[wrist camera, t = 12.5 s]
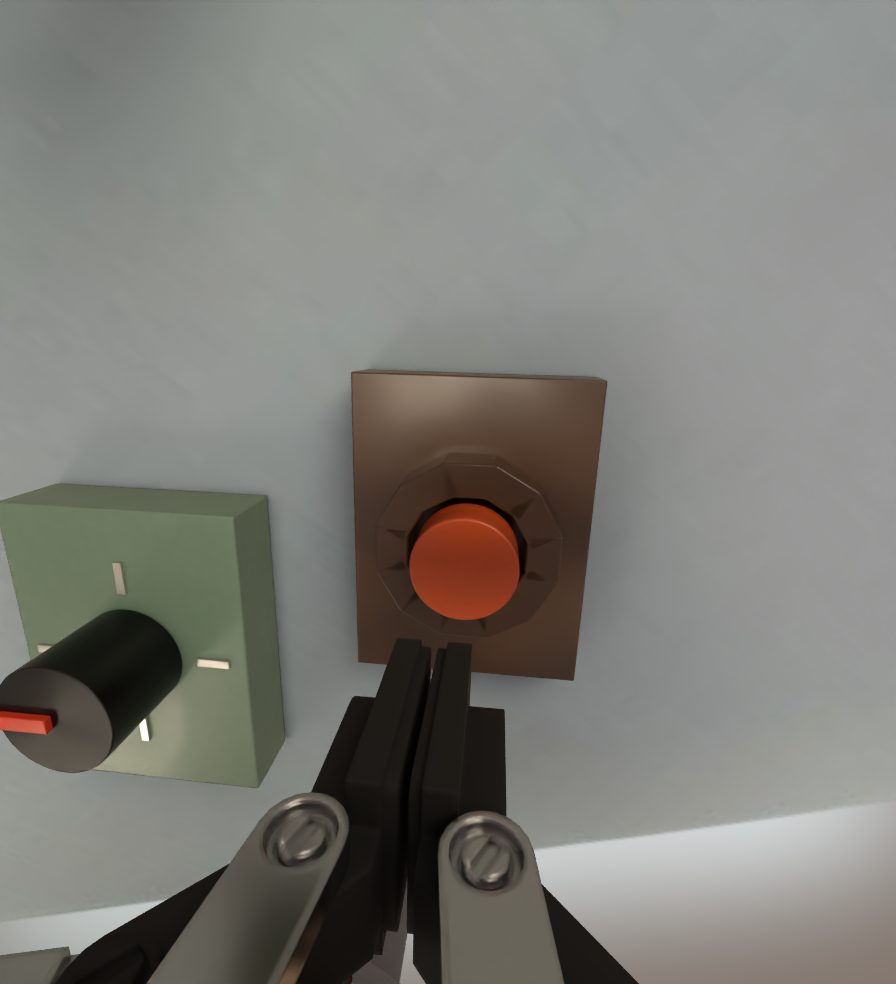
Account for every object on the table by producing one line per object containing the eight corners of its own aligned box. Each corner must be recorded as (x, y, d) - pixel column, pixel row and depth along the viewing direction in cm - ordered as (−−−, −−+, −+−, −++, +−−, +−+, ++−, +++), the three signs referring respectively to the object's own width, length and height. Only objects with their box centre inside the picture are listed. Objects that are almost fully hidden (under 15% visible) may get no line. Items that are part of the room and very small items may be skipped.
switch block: (567, 650, 23) (580, 711, 19) (370, 634, 24) (345, 690, 20) (596, 377, 19) (619, 384, 16) (366, 369, 20) (334, 374, 16)
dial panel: (285, 740, 26) (257, 792, 23) (102, 721, 27) (51, 769, 24) (267, 495, 22) (230, 518, 19) (56, 483, 23) (-11, 503, 20)
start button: (514, 600, 18) (515, 625, 17) (416, 592, 19) (408, 616, 17) (521, 505, 17) (523, 521, 16) (417, 499, 18) (408, 515, 16)
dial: (175, 612, 21) (95, 678, 17) (188, 704, 22) (116, 786, 18) (76, 605, 21) (-28, 667, 17) (93, 695, 22) (1, 773, 18)
